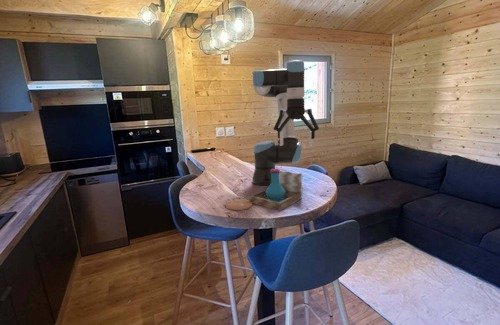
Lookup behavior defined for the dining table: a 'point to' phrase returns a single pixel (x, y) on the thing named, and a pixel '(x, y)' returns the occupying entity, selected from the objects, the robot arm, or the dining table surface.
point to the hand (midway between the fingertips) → (295, 145)
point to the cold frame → (292, 190)
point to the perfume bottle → (275, 187)
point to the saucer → (238, 204)
